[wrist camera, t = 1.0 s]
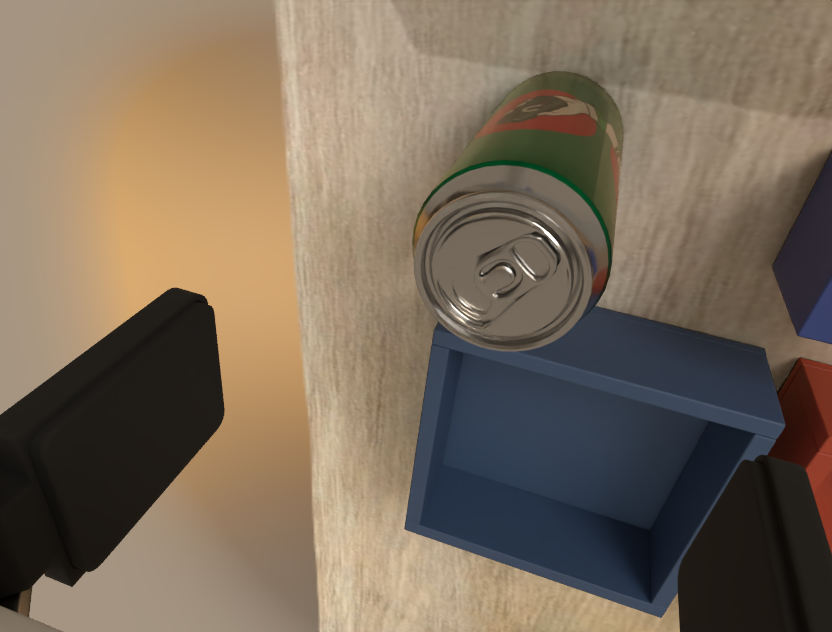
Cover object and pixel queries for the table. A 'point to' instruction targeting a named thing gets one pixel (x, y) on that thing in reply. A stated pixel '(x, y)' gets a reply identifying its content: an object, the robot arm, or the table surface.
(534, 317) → the soda can
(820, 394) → the red bin
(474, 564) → the table surface
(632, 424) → the blue bin
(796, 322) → the blue block
